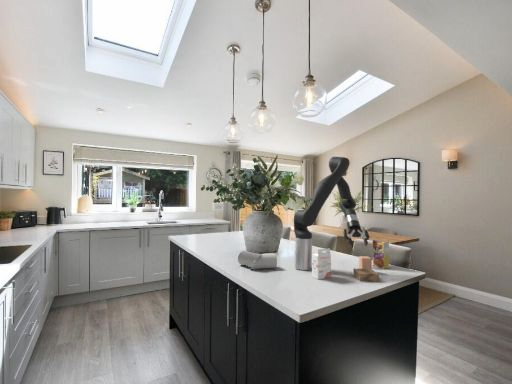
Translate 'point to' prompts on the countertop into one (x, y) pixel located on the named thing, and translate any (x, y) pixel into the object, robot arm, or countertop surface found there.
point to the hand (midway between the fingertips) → (358, 244)
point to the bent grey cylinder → (257, 260)
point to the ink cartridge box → (321, 264)
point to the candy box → (381, 254)
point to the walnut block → (366, 275)
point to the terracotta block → (365, 262)
